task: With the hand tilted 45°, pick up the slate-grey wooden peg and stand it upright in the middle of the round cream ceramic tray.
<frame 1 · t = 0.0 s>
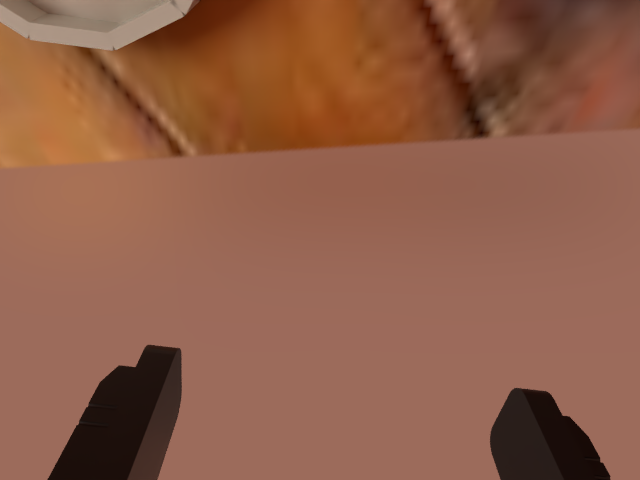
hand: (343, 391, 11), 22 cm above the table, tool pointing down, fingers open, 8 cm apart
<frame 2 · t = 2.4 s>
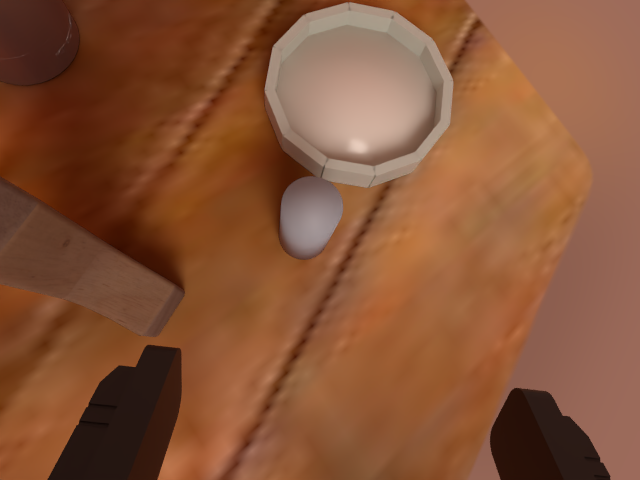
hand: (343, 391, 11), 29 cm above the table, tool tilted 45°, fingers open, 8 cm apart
grey peg: (303, 235, 42), on the table
round tray: (355, 102, 45), on the table
wooden block: (127, 288, 39), on the table
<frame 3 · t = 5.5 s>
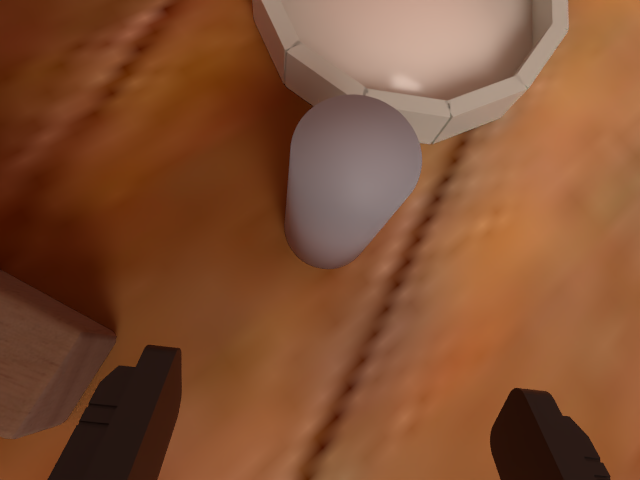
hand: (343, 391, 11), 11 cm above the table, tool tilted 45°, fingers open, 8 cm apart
grey peg: (327, 227, 24), on the table
round tray: (401, 9, 28), on the table
wooden block: (12, 333, 22), on the table
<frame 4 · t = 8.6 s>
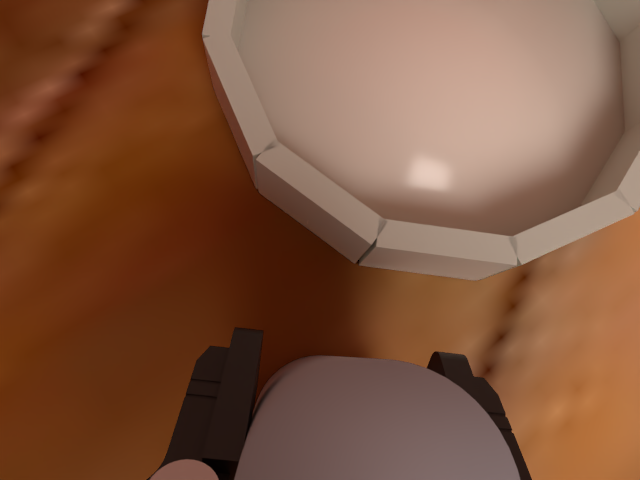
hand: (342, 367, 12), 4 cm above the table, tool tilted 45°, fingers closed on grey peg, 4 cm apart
grey peg: (318, 423, 15), on the table, touching gripper
round tray: (429, 70, 19), on the table
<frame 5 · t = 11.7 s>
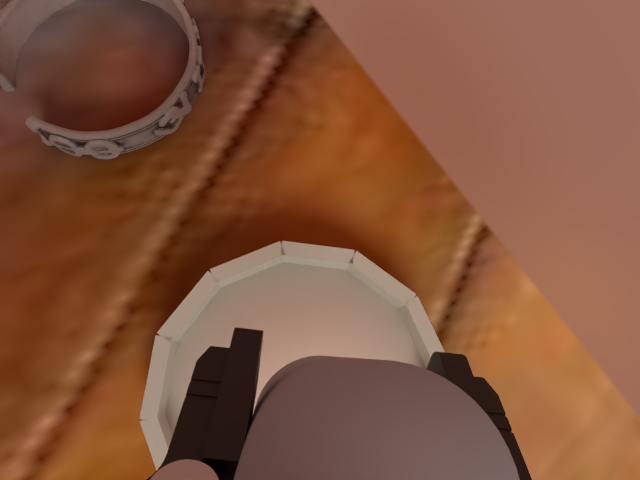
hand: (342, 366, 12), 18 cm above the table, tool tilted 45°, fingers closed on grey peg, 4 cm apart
grey peg: (319, 423, 15), point 14 cm above the table, touching gripper
round tray: (299, 388, 29), on the table
bracelet: (109, 73, 33), on the table
when the fingers open (7 cm above the table, at t = 15.2 s): grey peg drops 1 cm, resting on round tray.
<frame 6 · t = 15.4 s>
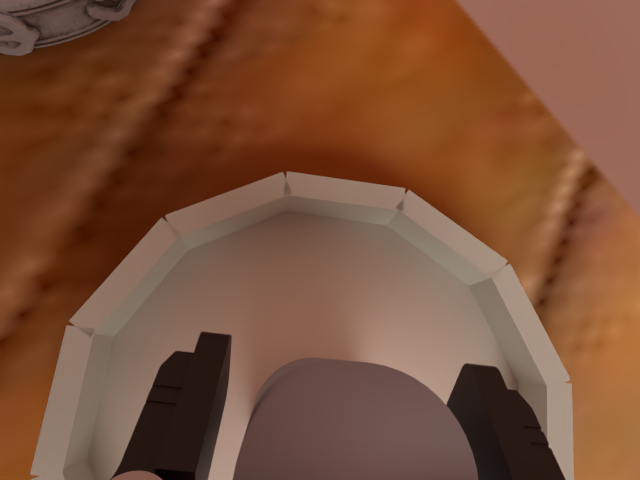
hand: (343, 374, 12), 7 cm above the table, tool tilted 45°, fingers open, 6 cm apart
grey peg: (312, 420, 17), point 1 cm above the table, touching round tray
round tray: (313, 414, 18), on the table
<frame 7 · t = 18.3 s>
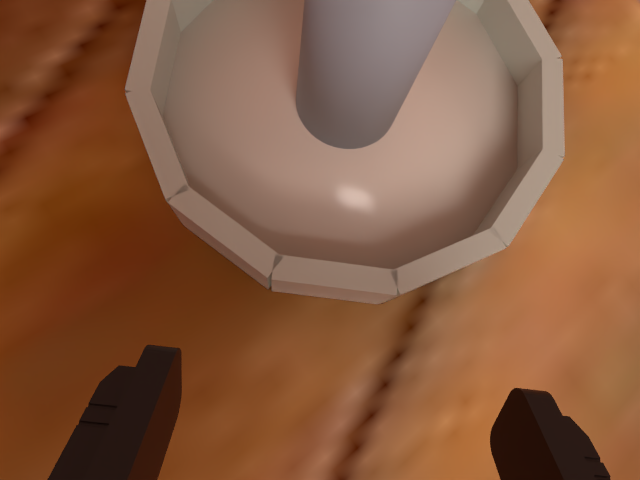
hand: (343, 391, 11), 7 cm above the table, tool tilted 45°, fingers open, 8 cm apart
grey peg: (346, 102, 20), point 1 cm above the table, touching round tray
round tray: (345, 112, 21), on the table
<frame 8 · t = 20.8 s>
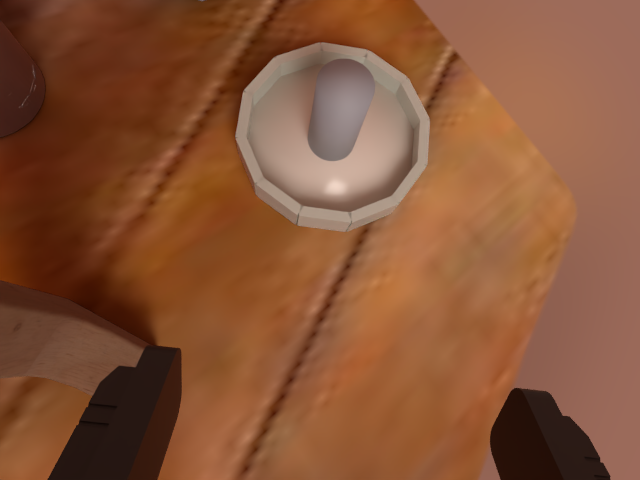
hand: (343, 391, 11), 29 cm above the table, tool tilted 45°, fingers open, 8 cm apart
grey peg: (331, 139, 43), point 1 cm above the table, touching round tray
round tray: (331, 143, 44), on the table
wooden block: (98, 348, 38), on the table
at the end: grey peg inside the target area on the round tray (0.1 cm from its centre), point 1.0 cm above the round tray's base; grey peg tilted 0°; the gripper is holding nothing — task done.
